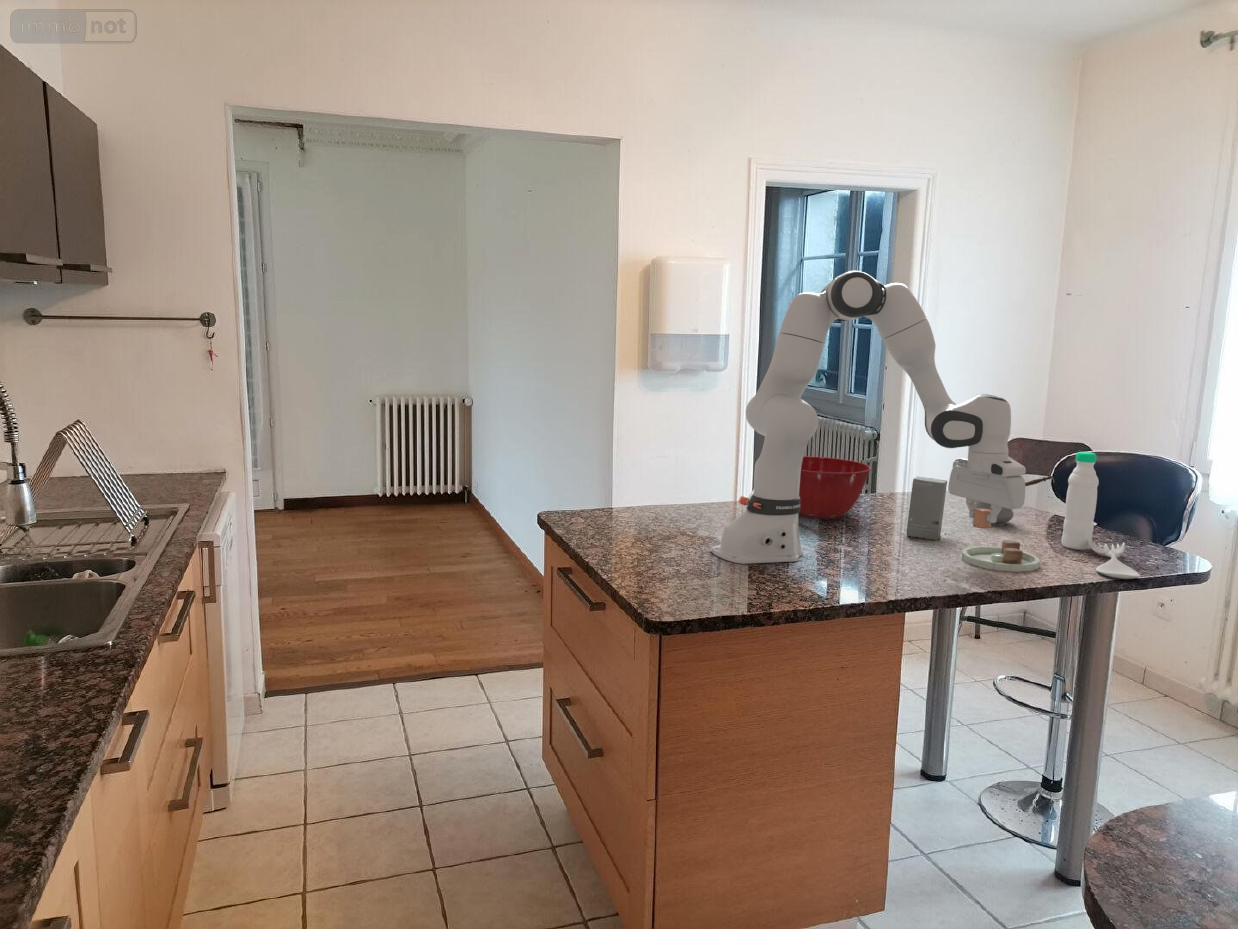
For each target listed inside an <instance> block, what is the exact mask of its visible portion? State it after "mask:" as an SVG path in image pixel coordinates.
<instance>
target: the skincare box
mask: <svg viewBox="0 0 1238 929" xmlns="http://www.w3.org/2000/svg"><path fill="white" fill-rule="evenodd" d="M947 485H948V480H946V479H938V478H933V477H924V476H919V475H918V476H915V477H914V478H913V479H912V486H911V493H910V500H909V501H910V502H909V508H908V518H907V525H906V537H908V536H911V537H910V538H916V537H918V539H923V538H926V540H932V539H933V540H934V541H937V540H938V539H939V538H940V537H941V534H942V527H943V517H944V510H945V508H944V507H945V502H946V494H947V493H946V492H947V488H948V486H947ZM939 536H940V537H939ZM933 540H932V541H933Z"/></svg>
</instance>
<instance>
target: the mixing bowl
mask: <svg viewBox="0 0 1238 929" xmlns="http://www.w3.org/2000/svg"><path fill="white" fill-rule="evenodd" d="M871 469H872V467H871V466H870V465H869V464H866V463H863V462H859V461H855V460H850V459H842V458H836V457H826V456H825V457H824V456H805V455H804V457H803V461H802V465H801V474H800V489H799V497H800V498H801V502H800V513H799V516H798V517H803V518H807V519H816V520H833V519H839V518H841V516H844V515H845V514H847V513H849V511H851V509H852V508H853V506H854V505H855V504H856V502H857V500H858V499H859V497H860V495H861V493H862V490H863V489H864V486H865V485H866V481H867V478H868V476H869V472H870V471H871ZM838 517H839V518H838Z"/></svg>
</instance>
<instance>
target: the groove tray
mask: <svg viewBox="0 0 1238 929" xmlns="http://www.w3.org/2000/svg"><path fill="white" fill-rule="evenodd" d="M1001 549H1002V546H990V545H989V546H988V545H987V546H986V545H977V546H967V547H966V548H962V551H961V560H962V561H964V562H965V563H967V564H969V565H973V566H976V567H979V568H982V569H988V570H993V571H1001V572H1002V571H1003V572H1012V573H1013V572H1015V573H1017V572H1019V573H1021V572H1022V573H1023V572H1031V571H1032V572H1033V571H1035V570H1037V569H1039V568H1040V564H1041V562H1040V561H1041V560H1040V558H1039V557H1038V556H1036V555H1034V554H1032V553H1031V552H1027V551H1023V550H1022V551H1023V553H1022V563H1021V564H1006V563H1003V555H1004V554H1001Z"/></svg>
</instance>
